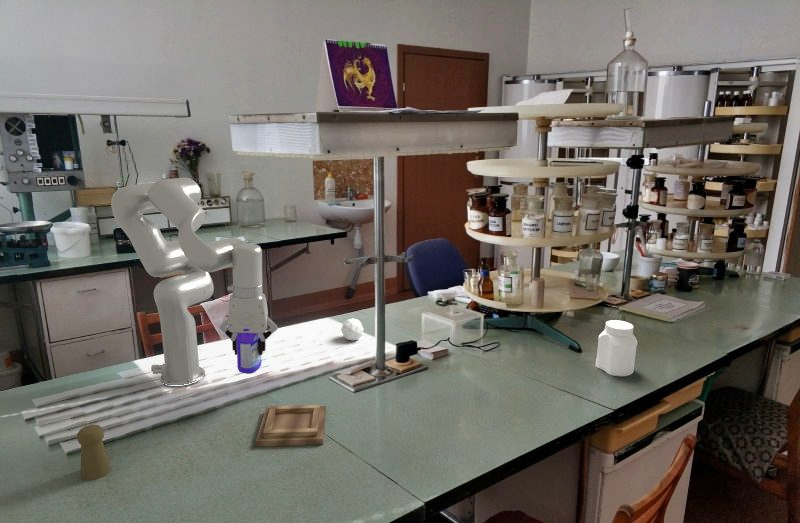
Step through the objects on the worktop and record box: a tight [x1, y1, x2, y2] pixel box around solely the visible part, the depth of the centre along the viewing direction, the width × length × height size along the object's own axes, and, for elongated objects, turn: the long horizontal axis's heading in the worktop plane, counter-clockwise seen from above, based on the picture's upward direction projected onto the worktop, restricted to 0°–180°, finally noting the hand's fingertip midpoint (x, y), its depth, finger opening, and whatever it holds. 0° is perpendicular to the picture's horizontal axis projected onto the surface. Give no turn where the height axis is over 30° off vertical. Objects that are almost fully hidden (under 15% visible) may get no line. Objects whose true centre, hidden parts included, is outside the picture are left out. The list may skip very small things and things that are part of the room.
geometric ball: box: [341, 317, 365, 342], centre depth 201 cm, size 8×8×8 cm
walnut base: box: [255, 404, 327, 447], centre depth 145 cm, size 16×16×3 cm
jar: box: [595, 319, 638, 377], centre depth 180 cm, size 12×10×15 cm
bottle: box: [236, 329, 262, 375], centre depth 154 cm, size 7×6×17 cm
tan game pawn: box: [76, 424, 112, 481], centre depth 125 cm, size 6×6×11 cm
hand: (249, 352), depth 155 cm, fingers closed on bottle, 5 cm apart
